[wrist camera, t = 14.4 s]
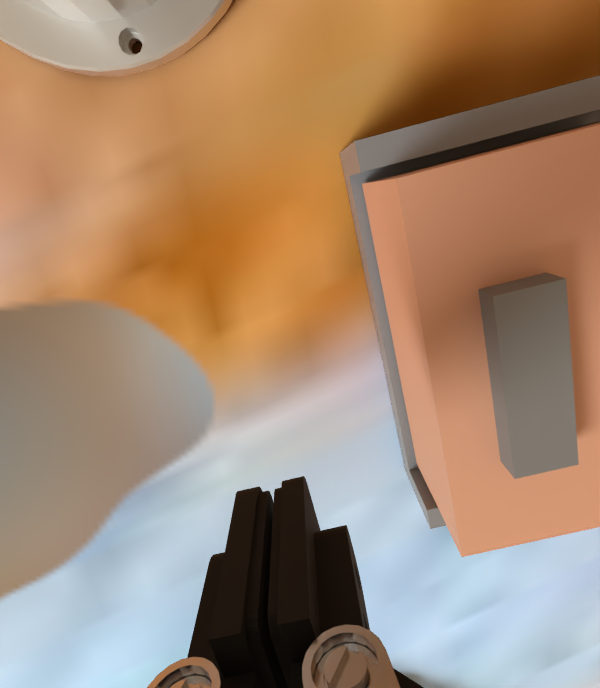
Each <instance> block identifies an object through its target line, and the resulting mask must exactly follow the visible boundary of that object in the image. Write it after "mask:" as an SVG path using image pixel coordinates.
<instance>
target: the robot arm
mask: <svg viewBox="0 0 600 688" xmlns="http://www.w3.org/2000/svg"><path fill="white" fill-rule="evenodd" d="M232 1H233V0H0V40H2V41H3V42H5V43H7V44H8V45H10V46H12V47H14V48H16V49H17V50H19V51H21V52H23V53H24V54H26V55H28V56H30V57H32V58H34V59H37V60H39V61H42V62H44V63H46V64H49V65H51V66H53V67H56V68H58V69H61V70H65V71H70V72H75V73H79V74H84V75H89V76H126V75H130V74H135V73H139V72H144V71H148V70H153V69H155V68H157V67H159V66H161V65H163V64H165V63H167V62H170V61H172V60H174V59H176V58H178V57H180V56H181V55H183V54H184V53H185V52H187V51H188V50H189V49H190V48H192V47H193V46H194V45H196V44H197V43H198V42H199V41H201V40H202V39H203V38H205V37H206V35H207V34H208V33H209V32H210V31H211V30H212V28H213V27H214V26H215V25H216V24H217V22H218V21H219V20H220V19H221V18H222V17H223V15H224V14H225V13H226V12H227V10H228V8H229V6H230V5H231V3H232ZM135 42H141V43H142V46H143V47H142V49H141V51H140V52H139V53H138V54H133V52H132V46H133V44H134V43H135ZM147 688H423V687H422V686H420V685H419V684H417V683H416V682H414V681H412V680H411V679H409V678H408V677H406V676H405V675H403V674H401V673H400V672H398V671H397V670H395V669H394V668H393V667H392V665H391V662H390V659H389V657H388V654H387V652H386V649H385V647H384V646H383V644H382V642H381V641H380V639H379V638H378V637H377V636H376V635H375V634H374V633H373V632H371V631H370V628H369V623H368V618H367V612H366V607H365V601H364V596H363V591H362V586H361V581H360V576H359V572H358V567H357V563H356V559H355V555H354V551H353V547H352V543H351V539H350V535H349V532H348V528H347V526H346V525H345V526H340V527H336V528H331V529H327V530H322V531H320V528H319V524H318V521H317V517H316V514H315V510H314V507H313V503H312V500H311V496H310V493H309V489H308V485H307V482H306V479H305V477H304V476H303V477H299V478H294V479H290V480H286V481H282V488H278V489H275V492H274V503H273V500H272V496H271V494H270V492H269V491H265V492H262V490H261V488H260V487H255V488H251V489H246V490H242V491H238V492H237V493H236V497H235V503H234V508H233V513H232V518H231V524H230V529H229V534H228V539H227V545H226V550H225V552H224V553H220V554H215V555H213V556H212V557H211V559H210V562H209V566H208V570H207V575H206V579H205V583H204V588H203V592H202V596H201V601H200V605H199V610H198V614H197V618H196V623H195V627H194V631H193V636H192V640H191V645H190V649H189V653H188V658H186V659H181V660H179V661H177V662H175V663H173V664H171V665H170V666H168V667H167V668H166V669H165V670H163V671H162V672H161V673H159V674H158V675H157V676H156V678H155V679H154V680H153V681H152V682H151V683H150V685H149V686H148V687H147Z"/></svg>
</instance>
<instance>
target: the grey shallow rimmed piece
mask: <svg viewBox="0 0 600 688" xmlns="http://www.w3.org/2000/svg"><path fill="white" fill-rule="evenodd" d="M599 121H600V75H599V76H595V77H592V78H588V79H584V80H580V81H577V82H573V83H569V84H566V85H562V86H558V87H554V88H551V89H547V90H543V91H539V92H536V93H532V94H528V95H525V96H521V97H517V98H513V99H510V100H506V101H502V102H498V103H495V104H491V105H487V106H484V107H480V108H476V109H472V110H469V111H465V112H461V113H457V114H454V115H450V116H446V117H443V118H439V119H435V120H431V121H428V122H424V123H420V124H416V125H413V126H409V127H405V128H402V129H398V130H394V131H390V132H387V133H383V134H379V135H375V136H372V137H368V138H364V139H361V140H357V141H354V142H353V143H352V144H350V145H349V146H348V147H347V148H345V149H344V150H343V151H341V152H340V157H341V162H342V167H343V172H344V176H345V181H346V186H347V191H348V196H349V201H350V205H351V210H352V215H353V220H354V225H355V230H356V234H357V239H358V244H359V249H360V254H361V259H362V264H363V268H364V273H365V278H366V283H367V288H368V293H369V297H370V302H371V307H372V312H373V317H374V322H375V326H376V331H377V336H378V341H379V346H380V351H381V355H382V360H383V365H384V370H385V375H386V380H387V384H388V389H389V394H390V399H391V404H392V409H393V413H394V418H395V423H396V428H397V433H398V438H399V442H400V447H401V452H402V457H403V462H404V467H405V471H406V473H407V475H408V478H409V480H410V482H411V485H412V487H413V489H414V492H415V494H416V496H417V499H418V501H419V503H420V506H421V508H422V510H423V513H424V515H425V517H426V519H427V522H428V524H429V526H430V529H432V528H436V527H441V526H445V525H446V523H445V521H444V519H443V517H442V515H441V513H440V511H439V509H438V507H437V504H436V502H435V500H434V498H433V496H432V494H431V492H430V490H429V488H428V486H427V484H426V482H425V480H424V478H423V475H422V473H421V471H420V469H419V467H418V465H417V462H416V457H415V452H414V447H413V442H412V436H411V431H410V426H409V421H408V416H407V411H406V406H405V401H404V396H403V391H402V386H401V380H400V375H399V370H398V365H397V360H396V355H395V350H394V345H393V340H392V335H391V330H390V324H389V319H388V314H387V309H386V304H385V299H384V294H383V289H382V284H381V279H380V274H379V268H378V263H377V258H376V253H375V248H374V243H373V238H372V233H371V228H370V223H369V217H368V212H367V207H366V202H365V197H364V192H363V187H362V183H366V182H370V181H374V180H378V179H381V178H385V177H389V176H393V175H397V174H400V173H404V172H408V171H412V170H416V169H419V168H423V167H427V166H431V165H435V164H438V163H442V162H446V161H450V160H454V159H457V158H461V157H465V156H469V155H473V154H476V153H480V152H484V151H488V150H492V149H495V148H499V147H503V146H507V145H511V144H514V143H518V142H522V141H526V140H530V139H533V138H537V137H541V136H545V135H549V134H552V133H556V132H560V131H564V130H568V129H571V128H575V127H579V126H583V125H587V124H590V123H595V122H599Z"/></svg>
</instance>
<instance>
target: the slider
mask: <svg viewBox="0 0 600 688" xmlns="http://www.w3.org/2000/svg"><path fill="white" fill-rule="evenodd" d="M362 187H363V192H364V197H365V202H366V207H367V212H368V217H369V223H370V228H371V233H372V238H373V243H374V248H375V253H376V258H377V263H378V268H379V274H380V279H381V284H382V289H383V294H384V299H385V304H386V309H387V314H388V319H389V324H390V330H391V335H392V340H393V345H394V350H395V355H396V360H397V365H398V370H399V375H400V380H401V386H402V391H403V396H404V401H405V406H406V411H407V416H408V421H409V426H410V431H411V436H412V442H413V447H414V452H415V457H416V462H417V465H418V467H419V469H420V471H421V473H422V475H423V478H424V480H425V482H426V484H427V486H428V488H429V490H430V492H431V494H432V496H433V498H434V500H435V502H436V504H437V507H438V509H439V511H440V513H441V515H442V517H443V519H444V521H445V523H446V525H447V527H448V529H449V531H450V533H451V536H452V538H453V540H454V542H455V544H456V546H457V548H458V550H459V552H460V554H461V556H462V557H464V556H469V555H473V554H478V553H482V552H487V551H491V550H496V549H501V548H505V547H510V546H514V545H519V544H523V543H528V542H532V541H537V540H542V539H546V538H551V537H555V536H560V535H564V534H569V533H574V532H578V531H583V530H587V529H592V528H596V527H600V121H599V122H595V123H590V124H587V125H583V126H579V127H575V128H571V129H568V130H564V131H560V132H556V133H552V134H549V135H545V136H541V137H537V138H533V139H530V140H526V141H522V142H518V143H514V144H511V145H507V146H503V147H499V148H495V149H492V150H488V151H484V152H480V153H476V154H473V155H469V156H465V157H461V158H457V159H454V160H450V161H446V162H442V163H438V164H435V165H431V166H427V167H423V168H419V169H416V170H412V171H408V172H404V173H400V174H397V175H393V176H389V177H385V178H381V179H378V180H374V181H370V182H366V183H362Z"/></svg>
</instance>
